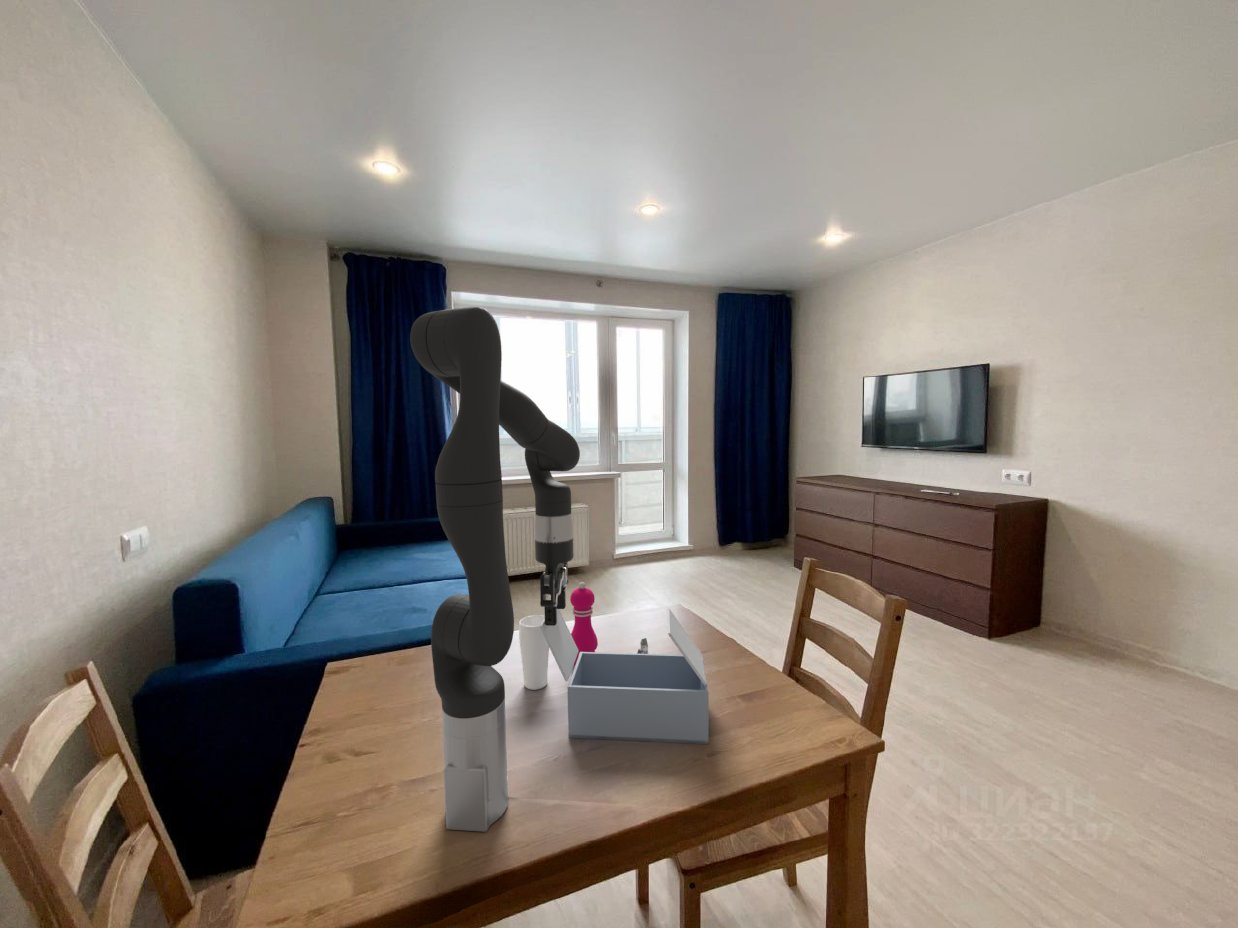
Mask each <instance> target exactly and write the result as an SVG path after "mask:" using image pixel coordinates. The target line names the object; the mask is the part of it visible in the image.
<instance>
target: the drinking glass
mask: <svg viewBox="0 0 1238 928" xmlns="http://www.w3.org/2000/svg"><path fill="white" fill-rule="evenodd" d="M544 618H545V615H542V614H541V615H540V614H532V615H527V616H525V617H523V618H521V619H520V620H519V622H518V624H519V625H518V635H519V636H518V637H519V649H520V656H521V664H522V672H523V673H522V675H523V686H524V687H525V688H526V689H528V690H531V691H537V690H541V689H543V688H544V687H546V685H548V682H549V681H548V679H549V677H548V674H549V672H548V671H549V655H550V654H549V653H550V648H549V645H548V643H547V641H546V639H545V637H544V635H543V633H542V631H541V628H540V625H541V623H542V621H543V620H544Z"/></svg>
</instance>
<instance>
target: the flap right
mask: <svg viewBox="0 0 1238 928" xmlns="http://www.w3.org/2000/svg"><path fill="white" fill-rule="evenodd" d="M666 612H667V613H666V614H667V619H666V620H667V635H668V637H669V638H670V639H671V641H672V642H673V644H674V645H675V647H676V648H677V649H678V651H679V652H680V654H681V655H683V656H684V657H685V659H686V660H687V662H688V663H689V664H690V666H691V667H692V669H693V670H694V671H695V673H696V674H697V676H698V677H699V678H700V680H701V681H702V683H703V684H704V685H706V684H707V685H708V682H707V683H706V680H707V677H705V674H706V670H705V671H704V668H705V665H704V666H703V663H704V659H703V660H702V657H703V655H702V652H701V651H700V649H699V648H698V646H697V645H696V643H695V641H693V639H692V638H691V637H690V635H689V634H688V633H687V631H686V630H685V627H684V626H682V624H681V623H680V621H679V620H678V619H677V617H676V616H675V614H674V613H673V611H672V610H671V609H670V608H667V609H666Z"/></svg>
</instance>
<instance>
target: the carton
mask: <svg viewBox="0 0 1238 928" xmlns="http://www.w3.org/2000/svg"><path fill="white" fill-rule="evenodd" d="M702 660H703V661H704V656H702ZM703 666H704V671H705V672H706V669H705V664H704V662H703ZM573 667H574V668H573V669H572V672H571V673H572V674H571V675H570V679H569V680H568V681H569V682H568V685H567V719H568V720H567V721H568V725H567V726H568V727H567V728H568V730H567V731H568V739H586V740H587V739H588V740H610V741H611V740H612V741H629V742H630V741H631V742H650V743H653V742H655V743H673V744H674V743H675V744H692V745H693V744H695V745H696V744H697V745H709V721H710V720H709V717H710V716H709V710H710V709H709V708H710V707H709V704H710V703H709V696H710V694H709V693H710V692H709V687H708V682H707V679H706V683H707V684H706V685H704V684H703V683H702V681H701V680H700V678H699V677H698V676H697V674H696V673H695V671H694V670H693V669H692V667H691V666H690V664H689V663H688V662H687V660H686V659H685V657H684V656H683V655H682V654H666V653H665V654H664V653H663V654H662V653H649V654H637V653H632V652H631V653H629V652H627V653H626V652H599V651H598V652H596V651H595V652H580V653H579V656H578V659H577V662H576V665H574V666H573ZM705 677H706V673H705ZM706 678H707V677H706Z"/></svg>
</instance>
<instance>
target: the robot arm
mask: <svg viewBox="0 0 1238 928" xmlns="http://www.w3.org/2000/svg"><path fill="white" fill-rule="evenodd" d="M409 335H410V336H409V337H410V341H409V343H410V347H411V350H412V352H413V355H414V357H415V359H416V360H417V362H418V363H419V364H420V365H421V367H422V368H423V369H424V370H426V371H427V372H428V373H429V374H431V375H432V376H433V377H435V378H436V379H438V380H439V381H440V382H442V383H443V384H446V386H448V387H450V388H451V389H453V390H454V391H455V392H456V393H458V394H459V403H458V405H459V407H458V410H457V411H458V412H457V415H456V419H455V422H454V424H453V426H452V429H451V431H450V433H449V435H448V437H447V439H446V440H445V443H444V444H443V445H444V446H443V447H442V448H441V452H440V453H439V456H438V459H437V463H436V464H435V471H434V476H435V477H434V480H435V481H434V482H435V499H436V510H437V516H438V519H439V522H440V523H439V524H440V525H441V527H442V530H443V532H444V534H445V536H446V538H447V539H448V541H449V543H450V545H451V547H452V549H453V550H454V553H455V554H456V556H457V559H458V560H459V561H460V563H461V566H462V569H463V571H464V574H465V579H466V583H467V589H468V590H467V591H468V594H466V593H465V594H464V593H460V594H459V593H457V594H454V595H451V596H449V597H448V598H446V599H445V600H444V601H442V603H441V604H440V605H439V606H438V608H437V610H436V612H435V614H434V617H433V621H432V625H431V631H430V632H431V633H430V646H431V656H432V658H431V659H432V668H433V677H434V684H435V689H436V692H437V694H438V695H439V698H440V699H441V700H440V701H441V715H442V741H443V744H442V745H443V761H444V762H443V764H444V765H443V766H444V769H443V780H444V781H443V782H444V804H445V826H446V827H445V828H446V830H454V831H468V832H470V831H473V832H483V833H485V832H487V831H488V830H489V828H490V826H491V825H492V824H493V823H495V822H497V820H499V819H500V818H501V817H502V816H503V814H505V811H507V808H508V804H509V781H508V778H509V777H508V752H507V751H508V750H507V727H506V726H507V723H506V696H505V695H506V690H505V689H506V687H505V680H504V678H503V676H502V674H500V672H499V671H498V670H497V669H495V668H494V667H493V666H496V665H498V664H499V663H501V662H502V661H503V660H504V659H505V657H506V656H507V654H508V653H509V651H510V648H511V646H512V642H513V638H514V632H515V617H514V614H515V613H514V607H513V600H512V593H511V586H510V579H509V574H508V573H509V572H508V565H507V557H506V545H505V531H504V506H503V505H504V504H503V503H504V502H503V501H504V499H503V497H504V495H503V479H502V478H503V476H502V464H501V463H502V462H501V443H500V427H501V428H502V429H503V430H504V431H505V432H506V434H507V435H509V436H510V437H511V438H512V439H513V441H514V442H516V444H517V445H519V446H520V447H522V448H523V449H524V459H525V464H526V468H527V471H528V475H529V477H530V481H531V484H532V488H533V492H534V502H535V506H534V507H535V509H534V510H535V518H534V551H535V552H534V553H535V554H534V557H535V559H534V560H535V561H536V562H537V563H540V564H543V565H544V566H545V568H544V570H543V573H542V574H540V576H539V581H540V582H539V583H540V585H539V586H540V587H539V588H540V590H539V591H540V592H539V593H540V601H539V605H540V607H542V608H543V609H544V616H545V625H547V626H555V625H556V623H557V609H559V610H565V608H566V606H567V605H566V604H567V603H566V602H567V599H566V590H567V588H568V585H569V570H568V567H569V566H568V563H569V562H571V561H572V560H573V559H574V524H573V515H572V491H571V488H570V486H569V485H568V484H566V483H563V482H559V481H557V480H555V478H554V477H553V475H552V473H551V472H568V471H571V470H573V469H574V468H576V466H577V465H578V463H579V461H580V456H581V451H580V447H579V445H578V442H577V441H576V439H575V438H574V436H573V435H571V433H570V432H568V431H567V430H565V429H564V428H562V427H561V426H560V425H558V424H556V423H555V422H553V421H552V420H550V419H548V418H547V416H546V414H544V413H543V411H542V410H541V408H539V406H538V405H537V403H536V402H534V401H533V400H532V399H531V397H530V396H528V395H527V394H525V393H524V392H522V391H521V390H519V389H517V388H516V387H514V386H512V385H511V384H509V383H507V382H505V381H503V380H502V361H503V360H502V355H503V353H502V340H501V334H500V329H499V327H498V323H497V321H496V319H495V318H494V316H493V314H491V313H490V311H488V310H487V309H486V308H484V307H482V306H481V307H480V306H466V307H456V308H450V309H443V310H442V309H441V310H434V311H431V312H427V313H424V314H422V315H420V316H419V317H417V318H416V320H415V321H414V322H413V323H412V325H411V329H410V334H409ZM548 596H550V599H548Z"/></svg>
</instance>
